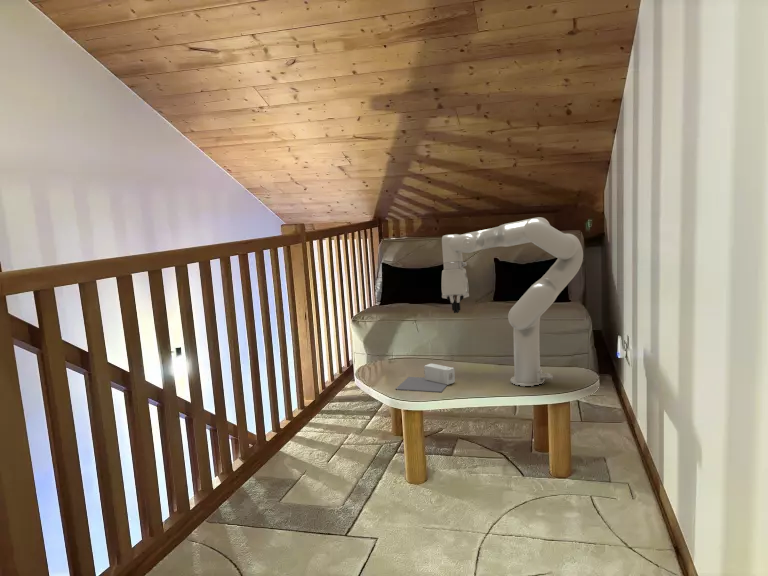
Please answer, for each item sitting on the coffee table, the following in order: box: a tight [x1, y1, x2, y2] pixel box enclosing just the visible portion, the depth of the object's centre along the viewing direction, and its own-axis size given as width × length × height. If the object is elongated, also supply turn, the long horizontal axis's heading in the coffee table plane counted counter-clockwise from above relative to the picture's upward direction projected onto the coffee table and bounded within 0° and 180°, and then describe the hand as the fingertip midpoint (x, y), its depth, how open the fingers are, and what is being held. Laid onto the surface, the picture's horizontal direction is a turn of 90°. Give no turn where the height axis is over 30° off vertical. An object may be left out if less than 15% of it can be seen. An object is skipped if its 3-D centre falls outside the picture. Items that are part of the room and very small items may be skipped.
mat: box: [395, 376, 448, 393], centre depth 225 cm, size 18×16×1 cm
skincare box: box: [423, 362, 456, 386], centre depth 226 cm, size 6×4×12 cm
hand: (456, 312), depth 228 cm, fingers closed
